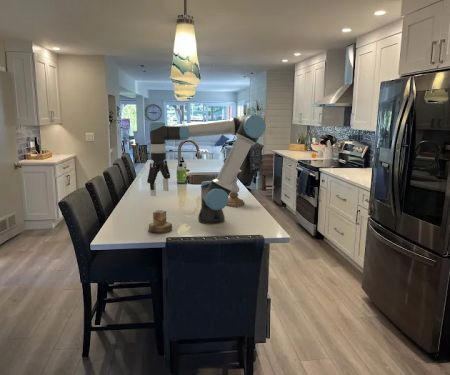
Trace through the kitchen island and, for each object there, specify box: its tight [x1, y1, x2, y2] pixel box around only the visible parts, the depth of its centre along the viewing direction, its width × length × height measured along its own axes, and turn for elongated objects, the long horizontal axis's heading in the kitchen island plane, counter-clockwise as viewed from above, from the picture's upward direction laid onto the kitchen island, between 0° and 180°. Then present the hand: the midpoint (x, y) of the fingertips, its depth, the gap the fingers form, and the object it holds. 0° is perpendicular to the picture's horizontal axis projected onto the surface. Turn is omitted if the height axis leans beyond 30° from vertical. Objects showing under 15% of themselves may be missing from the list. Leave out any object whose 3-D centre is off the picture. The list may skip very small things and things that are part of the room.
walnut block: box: [152, 209, 167, 226], centre depth 193 cm, size 5×5×7 cm
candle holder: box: [225, 168, 246, 208], centre depth 249 cm, size 11×11×24 cm
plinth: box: [148, 221, 173, 235], centre depth 194 cm, size 12×12×3 cm
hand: (159, 193), depth 191 cm, fingers open, 13 cm apart
